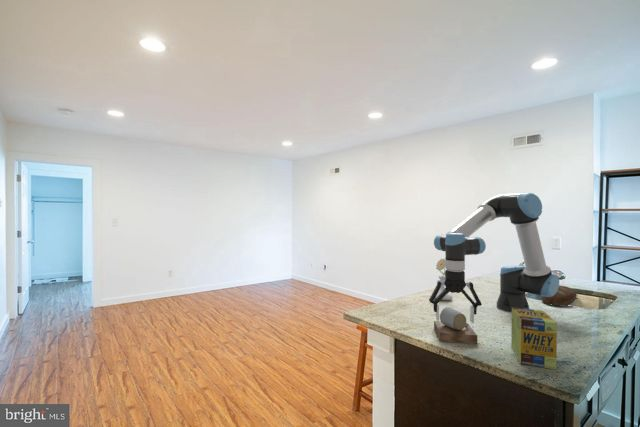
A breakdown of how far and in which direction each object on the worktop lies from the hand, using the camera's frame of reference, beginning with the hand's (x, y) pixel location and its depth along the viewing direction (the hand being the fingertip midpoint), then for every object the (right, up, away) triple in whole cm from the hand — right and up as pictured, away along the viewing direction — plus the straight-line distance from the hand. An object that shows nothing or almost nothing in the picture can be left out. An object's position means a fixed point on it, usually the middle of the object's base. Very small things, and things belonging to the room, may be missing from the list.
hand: (454, 320), depth 132 cm
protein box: (+20, -7, -19) cm, 28 cm away
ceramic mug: (+1, -3, +1) cm, 3 cm away
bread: (+87, -8, +57) cm, 105 cm away
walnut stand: (0, -6, 0) cm, 6 cm away
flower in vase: (+17, -7, +57) cm, 60 cm away
